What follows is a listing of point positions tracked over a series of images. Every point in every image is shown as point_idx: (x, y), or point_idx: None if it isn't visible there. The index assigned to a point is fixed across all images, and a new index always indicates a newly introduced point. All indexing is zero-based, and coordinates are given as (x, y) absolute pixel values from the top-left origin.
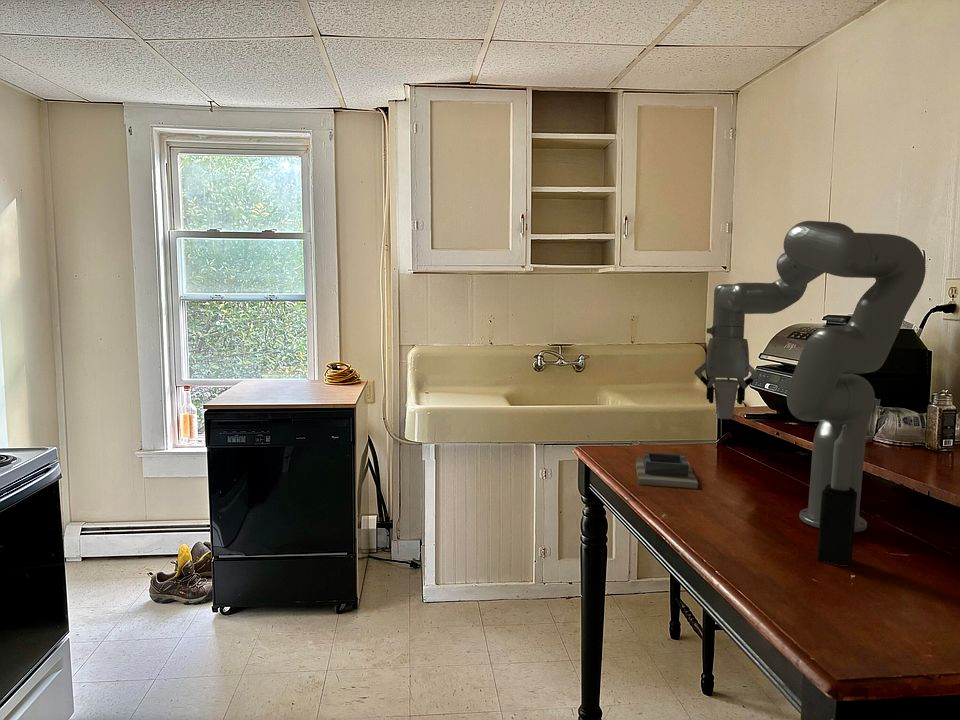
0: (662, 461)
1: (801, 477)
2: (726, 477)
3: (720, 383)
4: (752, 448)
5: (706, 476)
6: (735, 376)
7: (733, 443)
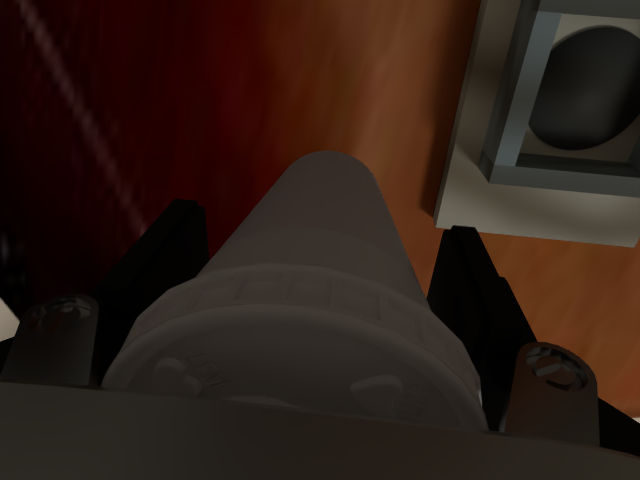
0: (575, 163)
1: (66, 148)
2: (326, 102)
3: (427, 326)
4: None
5: (401, 103)
6: (106, 406)
7: None
